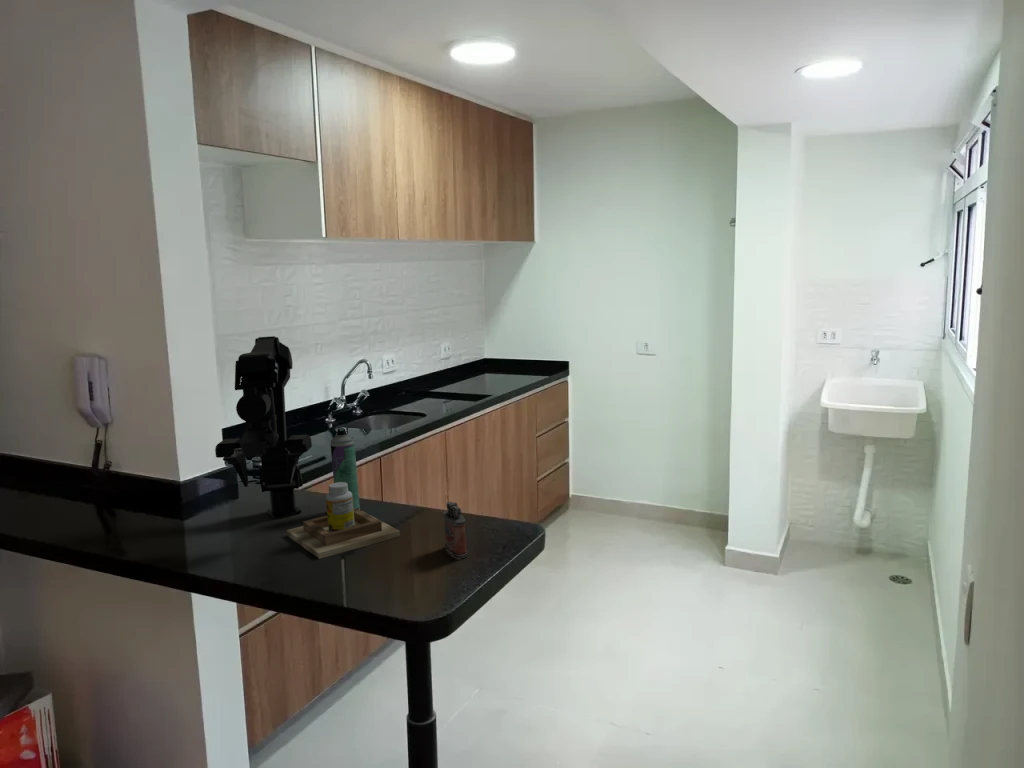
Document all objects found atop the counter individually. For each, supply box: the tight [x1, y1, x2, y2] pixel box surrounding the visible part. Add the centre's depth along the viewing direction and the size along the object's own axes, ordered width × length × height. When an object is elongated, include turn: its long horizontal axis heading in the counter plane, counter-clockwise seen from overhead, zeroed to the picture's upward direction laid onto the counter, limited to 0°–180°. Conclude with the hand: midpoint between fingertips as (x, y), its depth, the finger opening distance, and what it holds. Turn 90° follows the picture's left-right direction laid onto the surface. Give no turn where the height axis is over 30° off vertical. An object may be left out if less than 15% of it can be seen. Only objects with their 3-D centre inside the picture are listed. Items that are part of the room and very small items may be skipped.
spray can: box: [330, 427, 361, 511], centre depth 176 cm, size 6×6×20 cm
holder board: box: [286, 509, 401, 560], centre depth 160 cm, size 18×18×3 cm
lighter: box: [442, 501, 468, 558], centre depth 148 cm, size 8×3×10 cm, turn 23°
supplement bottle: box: [325, 482, 355, 532], centre depth 160 cm, size 6×6×10 cm
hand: (268, 485), depth 159 cm, fingers open, 9 cm apart
